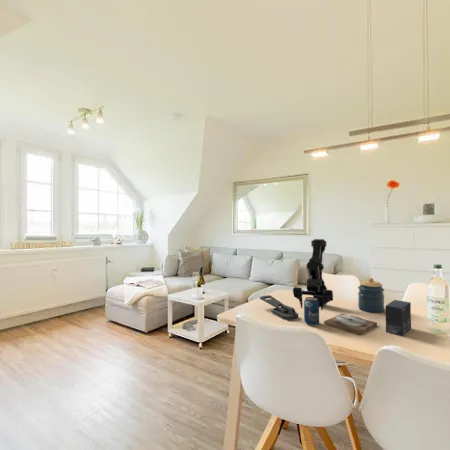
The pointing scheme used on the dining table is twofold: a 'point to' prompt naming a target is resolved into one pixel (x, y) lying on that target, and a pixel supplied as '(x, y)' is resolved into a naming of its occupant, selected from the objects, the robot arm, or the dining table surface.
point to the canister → (371, 296)
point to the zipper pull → (282, 312)
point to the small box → (398, 317)
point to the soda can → (311, 311)
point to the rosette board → (351, 323)
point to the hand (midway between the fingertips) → (311, 309)
